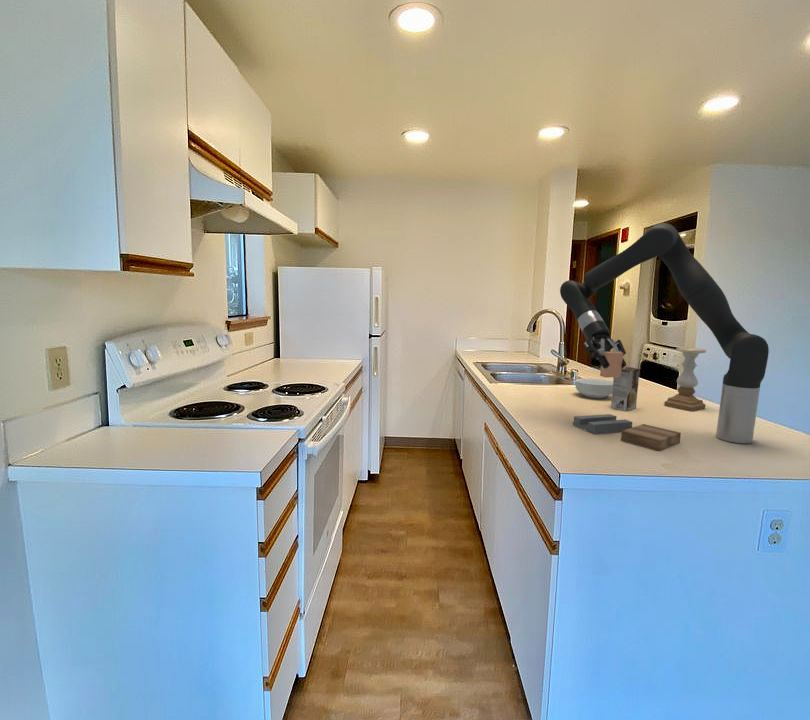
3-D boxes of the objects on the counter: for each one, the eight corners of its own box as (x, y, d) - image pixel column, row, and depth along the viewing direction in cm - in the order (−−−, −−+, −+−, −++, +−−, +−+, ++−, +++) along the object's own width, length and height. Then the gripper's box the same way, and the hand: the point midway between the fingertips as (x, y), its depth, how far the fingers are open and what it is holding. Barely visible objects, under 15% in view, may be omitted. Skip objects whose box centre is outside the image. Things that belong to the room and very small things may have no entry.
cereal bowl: (607, 393, 203) (608, 378, 202) (621, 401, 187) (623, 385, 186) (569, 391, 205) (570, 377, 204) (580, 400, 188) (581, 383, 187)
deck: (642, 432, 143) (643, 423, 142) (679, 442, 134) (680, 432, 134) (620, 440, 134) (621, 431, 134) (658, 450, 126) (659, 440, 125)
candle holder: (677, 402, 187) (683, 347, 184) (705, 408, 178) (712, 350, 175) (663, 405, 181) (669, 348, 178) (691, 411, 172) (699, 351, 169)
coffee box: (620, 404, 181) (623, 366, 179) (636, 408, 176) (640, 368, 174) (609, 408, 175) (613, 368, 173) (626, 411, 170) (630, 370, 168)
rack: (608, 421, 155) (609, 413, 154) (632, 431, 144) (633, 422, 144) (572, 424, 150) (573, 416, 150) (594, 434, 140) (595, 425, 140)
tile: (614, 375, 145) (617, 351, 144) (620, 377, 143) (623, 352, 142) (599, 376, 143) (602, 351, 142) (605, 377, 141) (608, 352, 140)
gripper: (581, 319, 145) (604, 360, 136) (616, 320, 150) (640, 360, 140) (569, 333, 151) (590, 374, 142) (603, 334, 156) (626, 373, 146)
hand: (615, 366), depth 141 cm, fingers closed on tile, 6 cm apart
